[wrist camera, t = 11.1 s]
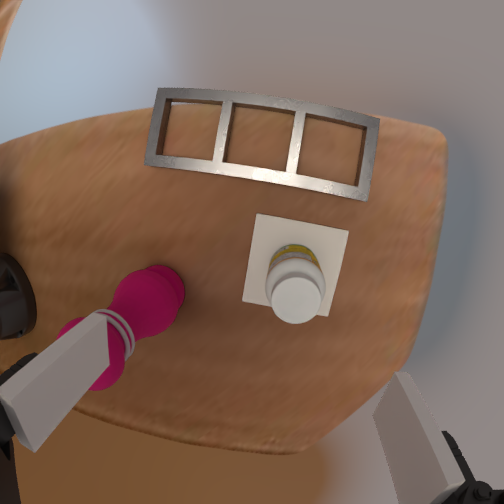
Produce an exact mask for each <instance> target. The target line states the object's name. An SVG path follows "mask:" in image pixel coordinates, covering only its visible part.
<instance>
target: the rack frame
mask: <svg viewBox="0 0 504 504" xmlns="http://www.w3.org/2000/svg"><path fill="white" fill-rule="evenodd" d="M171 102H186V103H203V104H216V105H222V110H221V116H220V121H219V127H218V132H217V138H216V144H215V149H214V155H213V161H209V160H200V159H192V158H183V157H173V156H163V155H162V152H163V146H164V140H165V134H166V129H167V123H168V118H169V113H170V108H171ZM235 106H236V107H245V108H253V109H261V110H268V111H275V112H281V113H287V114H293V115H295V120H294V126H293V132H292V138H291V144H290V150H289V156H288V162H287V168H286V172H281V171H275V170H270V169H264V168H257V167H251V166H245V165H238V164H231V163H226V157H227V151H228V145H229V140H230V134H231V128H232V123H233V117H234V112H235ZM305 117H310V118H315V119H320V120H324V121H329V122H334V123H338V124H342V125H347V126H351V127H355V128H359V129H363V135H362V142H361V148H360V155H359V161H358V167H357V173H356V179H355V185H354V186H350V185H346V184H341V183H337V182H332V181H327V180H323V179H318V178H313V177H308V176H303V175H297V174H296V169H297V163H298V157H299V151H300V145H301V139H302V133H303V127H304V120H305ZM379 123H380V119H379V118H375V117H372V116H368V115H364V114H361V113H357V112H353V111H348V110H344V109H340V108H335V107H331V106H326V105H322V104H317V103H312V102H307V101H301V100H296V99H289V98H283V97H277V96H270V95H262V94H255V93H246V92H236V91H225V90H211V89H194V88H158V91H157V95H156V100H155V105H154V109H153V114H152V119H151V125H150V130H149V136H148V142H147V148H146V154H145V161H144V165H148V166H158V167H167V168H176V169H184V170H192V171H200V172H208V173H215V174H222V175H229V176H235V177H242V178H248V179H254V180H261V181H266V182H272V183H278V184H283V185H289V186H294V187H300V188H305V189H310V190H315V191H320V192H325V193H329V194H334V195H339V196H343V197H348V198H352V199H357V200H361V201H365V202H367V200H368V195H369V189H370V184H371V178H372V172H373V166H374V159H375V153H376V146H377V139H378V131H379Z"/></svg>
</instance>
